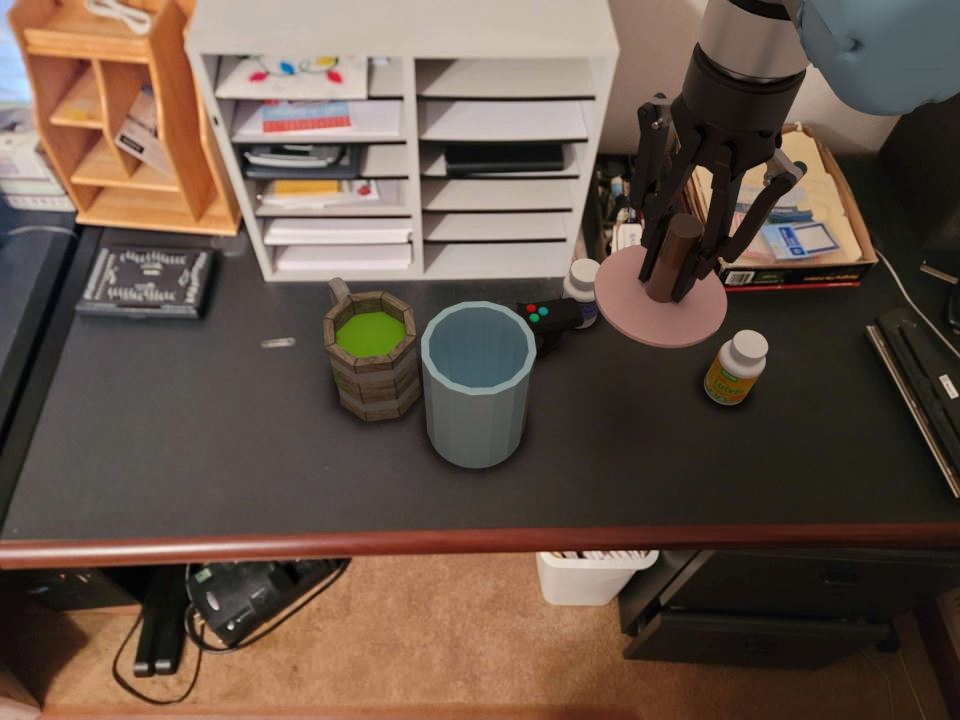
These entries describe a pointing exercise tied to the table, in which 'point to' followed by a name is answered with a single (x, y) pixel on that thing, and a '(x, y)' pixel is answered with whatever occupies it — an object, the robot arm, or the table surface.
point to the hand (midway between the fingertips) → (665, 282)
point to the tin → (477, 382)
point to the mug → (372, 352)
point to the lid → (660, 291)
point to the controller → (548, 319)
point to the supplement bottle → (736, 367)
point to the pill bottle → (582, 288)
